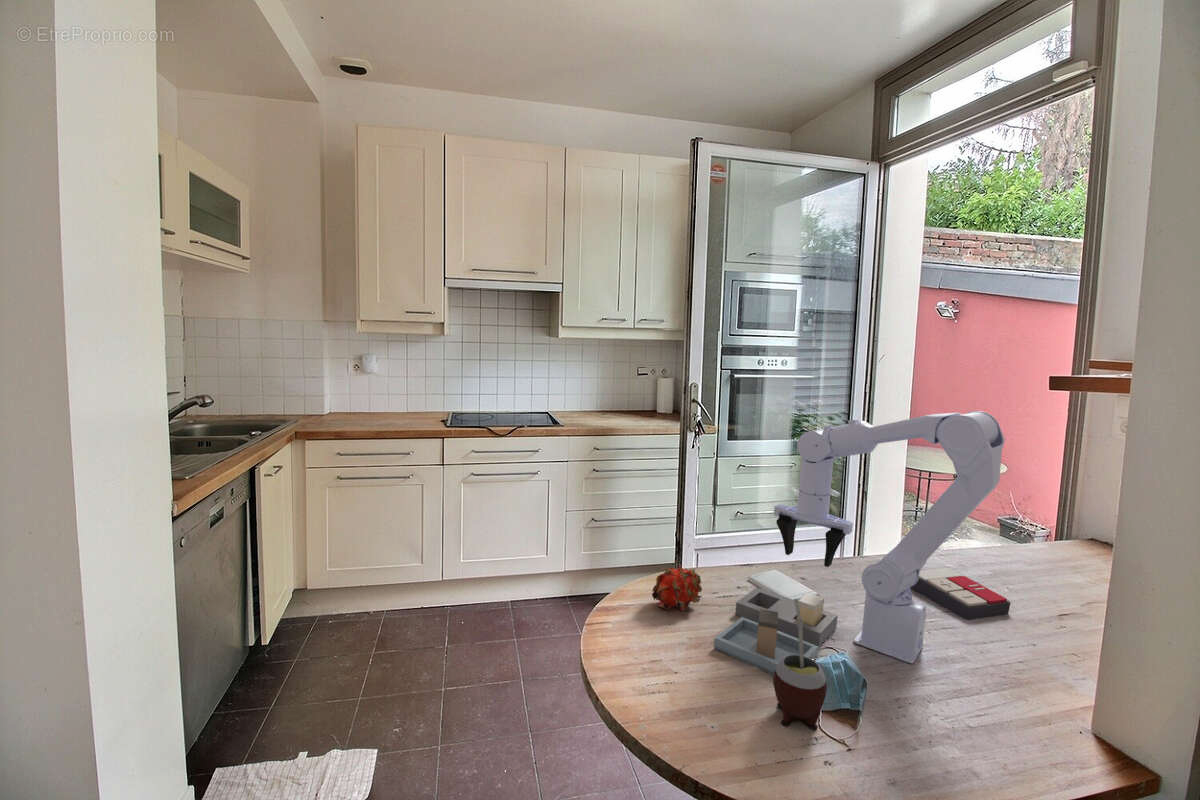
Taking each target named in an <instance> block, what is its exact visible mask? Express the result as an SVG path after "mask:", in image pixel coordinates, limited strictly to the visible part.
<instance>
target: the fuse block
mask: <svg viewBox="0 0 1200 800" xmlns="http://www.w3.org/2000/svg"><path fill="white" fill-rule="evenodd" d="M759 605H760V606H759ZM762 606H764V607H762ZM765 607H766V608H765ZM760 609H764V610H769V611H774V612H778V625H777V631H780V632H782V633H785V634H788V635H790V636H793V637H795V638H798V639H799V630H798V626H797V625H798V624H797V621H798V620H797V611H796V607H795V603H794V600H792V599H790V598H787V597H784V596H781V595H778V594H775V593H772V592H769V591H766V590H764V589H762V588H760V587H759V586H757V587H755V588H754V589H753V590H751V591H749V592H748V593H747V594H745V595H744V596H743V597H741V598H740V599H739V600H738V601H736V602H735V615H736V616H738V617H740V618H741V617H744V618H746V619H749V620H751V621H754V622H757V623H759V614H760ZM837 625H838V614H836V613H833V612H830V611H827V610H824V609H823V615H822V621H821V622H820V623H819V624H818V625H817V626H816V627H814V626H812V625H809V624H806V623H803V628H802V633H803V641H806V642H808V643H811V644H814V645H816V646H818V648H820V647H821V645H822V644H823V643H824V642H825V641H826V640H827V639H828V638H829V636H830V635H831V634H833V632H834V631H835V630H836V629H837V628H838V627H837Z"/></svg>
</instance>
